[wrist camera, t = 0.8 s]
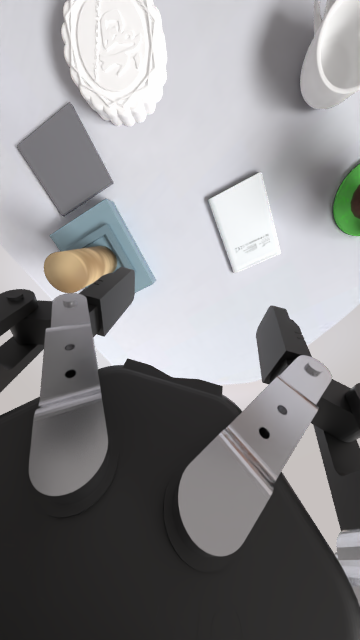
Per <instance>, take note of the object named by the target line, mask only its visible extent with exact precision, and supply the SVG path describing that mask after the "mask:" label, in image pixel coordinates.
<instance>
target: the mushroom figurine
mask: <svg viewBox="0 0 360 640" xmlns="http://www.w3.org/2000/svg"><path fill="white" fill-rule="evenodd" d="M333 214H334V219H335V222H336V224H337V226H338V227H339V228H340V229H341V230H342V231H343V232H345V233H346V234H349V235H353V236H360V164H359V165H357V166H356V167H355V168H354V169H353V170H352V171H351V172H350V173H349V174H348V175H347V176H346V178H345V179H344V180H343V182H342V183H341V185H340V187H339V189H338V191H337V194H336V197H335V200H334V206H333Z"/></svg>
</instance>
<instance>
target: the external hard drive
mask: <svg viewBox="0 0 360 640" xmlns="http://www.w3.org/2000/svg"><path fill="white" fill-rule="evenodd" d="M208 202H209V205H210V207H211V210H212V213H213V216H214V219H215V221H216V224H217V227H218V230H219V233H220V236H221V238H222V241H223V244H224V247H225V250H226V253H227V255H228V258H229V261H230V264H231V267H232V269H233V272H234V273H238V272H240V271H242V270H245V269H247V268H249V267H251V266H254V265H256V264H258V263H261V262H263V261H265V260H268V259H270V258H272V257H274V256H277V255H279V254H281V251H280V247H279V242H278V238H277V234H276V230H275V226H274V222H273V218H272V213H271V209H270V205H269V201H268V197H267V193H266V189H265V185H264V181H263V177H262V173H261V172H259V173H257V174H255V175H253V176H252V177H250V178H248V179H246V180H244V181H242V182H240V183H238V184H237V185H235V186H233V187H231V188H229V189H227V190H225V191H223V192H222V193H220V194H218V195H216V196H214V197H212V198H210V199H209V200H208Z"/></svg>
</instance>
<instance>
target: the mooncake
mask: <svg viewBox="0 0 360 640" xmlns="http://www.w3.org/2000/svg"><path fill="white" fill-rule="evenodd" d="M63 17H64V20H65V22H64V23H63V25H62V27H61V35H62V39H63V41H64V43H65V46H64V57H65V60H66V62H67V64H68V65H69V67H70V75H71V78H72V80H73V81H74V83H75V84H76V85H77V87H78V88H79V89H80V93H81V95H82V96H83V98H84V99H85V100H86V101H87V103H88V104H89V105H90V107H91V108H92V109H93V110H94V111H97V112H98V114H99V115H100V116H101V118H102V119H103V120H105V121H110V120H111V122H112V123H113V124H114V125H116V126H121V125H122V124H124V125H125V126H127V127H131V126H133V125H134V124H135V122H137V123H142V122H143V121H144V120H145V119H146V115H150V114H152V113H153V112H154V110H155V107H156V102H159V101H160V99H161V98H162V94H163V89H162V86H163V85H164V84H165V82H166V79H167V73H166V63H167V52H166V44H165V36H164V33H163V30H162V22H161V16H160V12H159V10H158V8H157V7H156V6H154V4H153V0H67V1H66V2H65V4H64V6H63Z"/></svg>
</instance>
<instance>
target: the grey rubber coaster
mask: <svg viewBox="0 0 360 640" xmlns="http://www.w3.org/2000/svg"><path fill="white" fill-rule="evenodd" d="M17 147H18V149H19V150H20V152H21V153H22V155H23V156H24V158H25V160H26V161H27V163H28V164H29V166H30V167H31V169H32V170H33V172H34V173H35V175H36V176H37V178H38V179H39V181H40V183H41V184H42V186H43V187H44V189H45V190H46V192H47V193H48V195H49V196H50V198H51V199H52V201H53V202H54V204H55V206H56V207H57V209H58V210H59V212H60V213H61V215H62V216H65V215H67V214H68V213H70V212H71V211H73V210H74V209H76V208H77V207H79V206H80V205H82V204H83V203H85V202H86V201H88V200H89V199H91V198H92V197H94V196H95V195H97V194H98V193H100V192H101V191H103V190H104V189H106V188H107V187H109V186H110V185H112V184H113V181H112V179H111V177H110V175H109V173H108V172H107V170H106V168H105V166H104V164H103V162H102V160H101V158H100V156H99V155H98V153H97V151H96V149H95V147H94V145H93V143H92V141H91V139H90V138H89V136H88V134H87V132H86V130H85V128H84V126H83V124H82V122H81V121H80V119H79V117H78V115H77V113H76V111H75V109H74V107H73V105H72V104H71V103H70V102H69V103H68V104H67V105H66V106H64V107H63V108H62V109H61V110H60V111H58V112H57V113H56V114H55V115H54V116H52V117H51V118H50V119H49V120H48V121H46V122H45V123H44V124H43V125H42V126H40V127H39V128H38V129H37V130H35V131H34V132H33V133H32V134H31V135H29V136H28V137H27V138H26V139H25V140H23V141H22V142H21V143H20V144H19V145H17Z"/></svg>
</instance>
